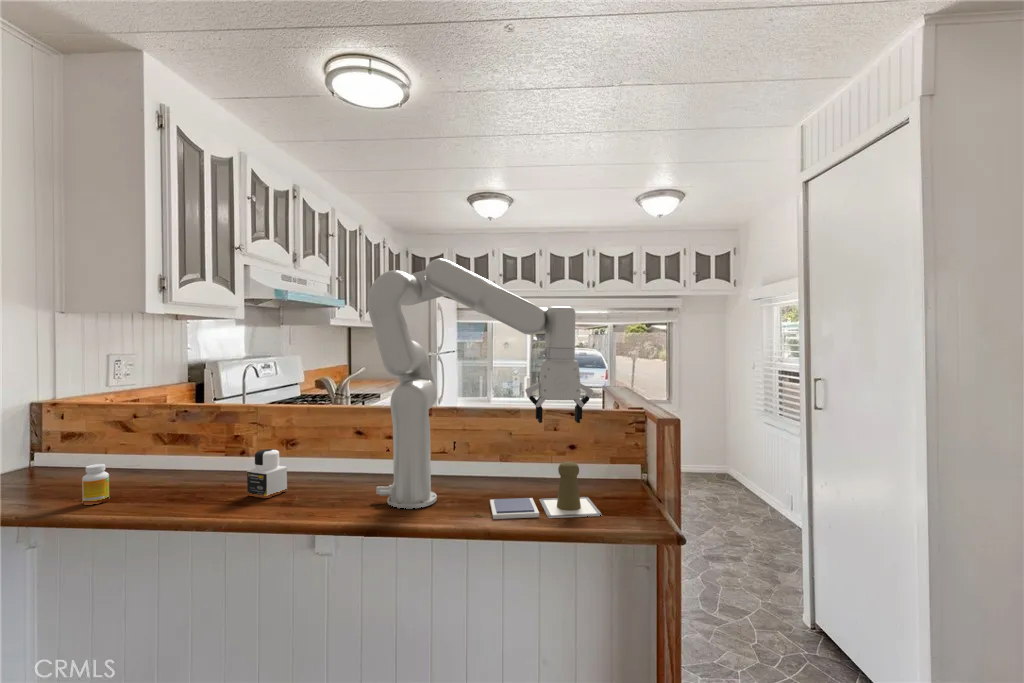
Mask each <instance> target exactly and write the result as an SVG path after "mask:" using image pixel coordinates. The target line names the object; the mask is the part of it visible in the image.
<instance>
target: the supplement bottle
mask: <svg viewBox="0 0 1024 683" xmlns="http://www.w3.org/2000/svg"><path fill="white" fill-rule="evenodd" d="M105 470H106V464H105V463H95V464H90V465H87V466H85V473H86V474H85V475H83V476H82V481H81V482H82V483H81V484H82V485H81V486H82V488H81V490H82V493H81V494H82V502H83V501H97V500H102V499H105V498H107V497H109V498H110V474H109V473H108V472H107V471H105Z"/></svg>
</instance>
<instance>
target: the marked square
mask: <svg viewBox="0 0 1024 683" xmlns="http://www.w3.org/2000/svg"><path fill="white" fill-rule="evenodd" d="M538 500H539V502H540V504H541V506H542V508H543V510H544V512H545V514H546V517H547V519H555V518H556V519H559V518H560V519H563V518H564V519H565V518H581V517H582V518H584V517H586V518H587V516H588V517H602V516H603V514H602V512H601V511H600V510H599V509H598V508H597V506H596V505H595V503H593V501H592V500H591V499H590V498H589V496H580V504H581V508H580V509H578V510H573V511H567V510H561V509H559V508H557V500H558V497H555V498H554V497H552V498H539V499H538ZM600 515H601V516H600Z"/></svg>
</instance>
